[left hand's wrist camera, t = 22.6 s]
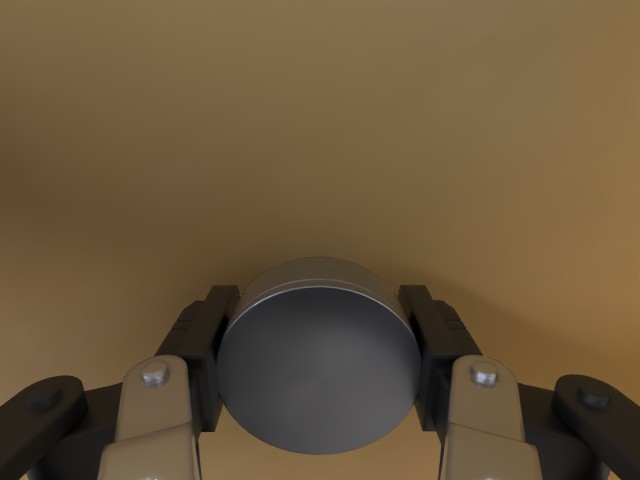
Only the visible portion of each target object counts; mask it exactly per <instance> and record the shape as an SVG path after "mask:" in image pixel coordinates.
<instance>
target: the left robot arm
mask: <svg viewBox="0 0 640 480" xmlns="http://www.w3.org/2000/svg"><path fill="white" fill-rule="evenodd" d="M239 298H240V294H239V288H238V286H237V285H214V286H213V287H212V288H211V290H210V292H209V294H208V295H207V297H206V299H205V301H195V302H193V303H192V304H191V305H189V306H188V307H186V308H185V309H184V310H183V311H182V313H181V314H180V316H179V318H178V319H177V322H175V324H174V325H173V327H172V330H170V332H169V333H168V335H167V336H166V338H165V340H164V341H163V343H162V344H161V346H160V348H159V349H158V351H157V352H156V354H155V355H154V357H151V358H148V359H145V360H143V361H141V362H139V363H138V364H136V365H135V366H133V367H132V368H131V369H130V370H129V371H128V372H127V373H126V375H125V377H124V379H123V382H121V383H118V384H115V385H111V386H107V387H102V388H98V389H93V390H88V391H84V387H83V384H82V382H81V380H80V379H78V378H76V377H73V376H56V377H51V378H47V379H44V380H41V381H39V382H36V383H34V384H32V385H30V386H28V387H27V388H25V389H23V390H22V391H21V392H19V393H18V394H16V395H15V396H14V397H12V398H11V399H10V400H8V401H7V402H6V403H4V404H3V405H2V406H0V480H19V479H20V478H21V477H22V476H23V475H24V474H25V473H26V474H27V477H28V479H29V480H203V477H202V467H201V457H200V449H199V442H198V439H199V436H200V433H201V432H215V429H216V426H217V423H218V420H219V416H220V413H221V410H222V407H223V401H222V399H221V396H220V393H219V386H218V377H217V368H216V357H217V352H218V349H219V346H220V343H221V340H222V338H223V335H224V333H225V330H226V328H227V325H228V323H229V320H230V318H231V315H232V313H233V310H234V308H235V306H236V304H237V302H238V300H239ZM398 298H399V299H400V301H401V303H402V305H403V308H404V310H405V312H406V315H407V317H408V320H409V322H410V325H411V327H412V330H413V332H414V335H415V338H416V340H417V342H418V345H419V348H420V352H421V356H422V365H421V374H420V383H419V392H418V397H417V399H416V401H415V403H414V404H415V407H416V411H417V414H418V417H419V420H420V424H421V427H422V430H423V431H437V434H438V437H439V440H440V443H441V449H440V457H439V467H438V477H437V480H607V479H608V476H609V473H610V471H611V470H612V471H613V472H614V473H615V474H616V475H617V476H618V477H619V478H620V479H621V480H640V406H638V405H637V404H636V403H634V402H633V401H632V400H630V399H629V398H628V397H626V396H625V395H624V394H622V393H621V392H620V391H618V390H617V389H615V388H614V387H612V386H610V385H609V384H607V383H605V382H602V381H600V380H597V379H595V378H592V377H588V376H584V375H573V374H571V375H565V376H562V377H560V378H559V379H558V380H557V382H556V385H555V389H554V391H552V390H547V389H542V388H538V387H533V386H529V385H524V384H521V383H518V382H517V379H516V377H515V375H514V373H513V372H512V371H511V370H510V369H509V368H508V367H507V366H505V365H504V364H502V363H501V362H499V361H497V360H495V359H492V358H489V357H485V356H483V354H482V353H481V351H480V350H479V348H478V346H477V345H476V343H475V342H474V340H473V338H472V337H471V335H470V334H469V332H468V330H466V327H465V326H464V324H463V322H462V321H461V319H460V318H459V316H458V314H457V313H456V311H455V310H454V309H453V308H452V307H451V306H449V305H448V304H446V303H445V302H444V301H442V300H433V299H432V297H431V295H430V294H429V292H428V290H427V288H426V286H425V285H400V288H399V294H398Z"/></svg>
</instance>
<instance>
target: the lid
mask: <svg viewBox="0 0 640 480" xmlns="http://www.w3.org/2000/svg"><path fill="white" fill-rule="evenodd" d="M421 365H422V356H421V352H420V348H419V345H418V342H417V340H416V338H415V335H414V332H413V330H412V327H411V325H410V322H409V320H408V317H407V315H406V312H405V310H404V308H403V305H402V303H401V301H400V299H399V298H398V296H397V295H396V293H395V292H394V291H393V289H392V288H391V287H390V286H389V285H388V284H387V283H386V282H385V281H384V280H383V279H381V278H380V277H379V276H378V275H376V274H375V273H373V272H372V271H370V270H368V269H366V268H364V267H362V266H360V265H358V264H355V263H352V262H349V261H346V260H341V259H336V258H328V257H309V258H302V259H296V260H293V261H289V262H286V263H283V264H281V265H278V266H276V267H274V268H272V269H270V270H268V271H267V272H265V273H263V274H262V275H261V276H259V277H258V278H257V279H256V280H254V281H253V282H252V283H251V284H250V285H249V286H248V287H247V289H246V290H245V291H244V292H243V294H242V295H241V297H240V298H239V300H238V302H237V304H236V306H235V308H234V310H233V313H232V315H231V318H230V320H229V323H228V325H227V328H226V330H225V333H224V335H223V338H222V340H221V343H220V346H219V349H218V352H217V357H216V368H217V377H218V386H219V393H220V396H221V399H222V401H223V403H224V405H225V407H226V408H227V410H228V411H229V413H230V414H231V415H232V417H233V418H234V419H235V420H236V421H237V422H238V423H239V424H240V425H241V426H242V427H243V428H244V429H245V430H247V431H248V432H249V433H250V434H252V435H253V436H255V437H256V438H258V439H260V440H262V441H264V442H266V443H268V444H270V445H272V446H275V447H277V448H280V449H283V450H287V451H291V452H296V453H302V454H314V455H324V454H336V453H343V452H347V451H351V450H355V449H358V448H361V447H364V446H366V445H368V444H370V443H373V442H375V441H377V440H378V439H380V438H382V437H383V436H385V435H386V434H388V433H389V432H390V431H392V430H393V429H394V428H395V427H396V426H397V425H398V424H399V423H400V422H401V421H402V420H403V419H404V418H405V417H406V416H407V414H408V413H409V412H410V410H411V408H412V407H413V405H414V403H415V401H416V399H417V397H418V392H419V383H420V374H421Z"/></svg>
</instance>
